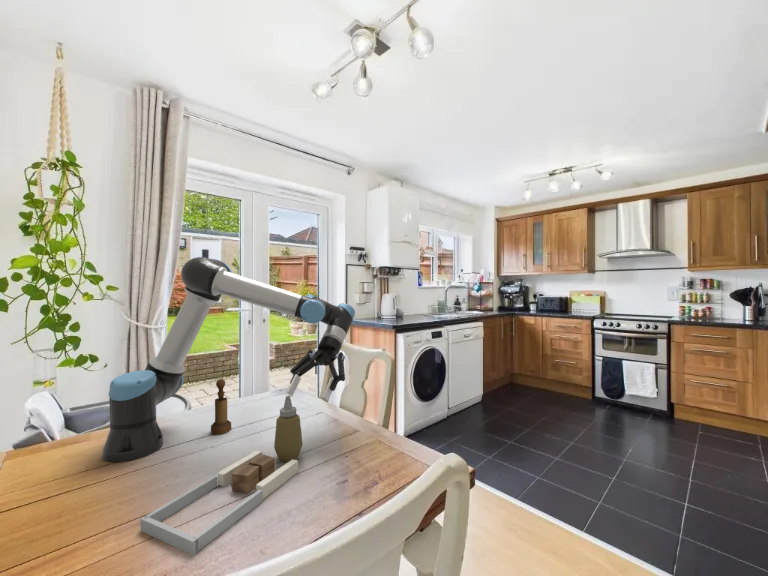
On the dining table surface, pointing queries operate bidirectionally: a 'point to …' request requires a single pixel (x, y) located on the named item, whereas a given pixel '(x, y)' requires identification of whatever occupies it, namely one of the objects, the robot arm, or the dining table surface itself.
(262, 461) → the brown cubic block
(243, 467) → the brown cube block
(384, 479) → the dining table surface
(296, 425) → the squeeze bottle
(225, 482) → the slot rails
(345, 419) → the dining table surface
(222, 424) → the wooden pepper mill
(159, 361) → the robot arm
